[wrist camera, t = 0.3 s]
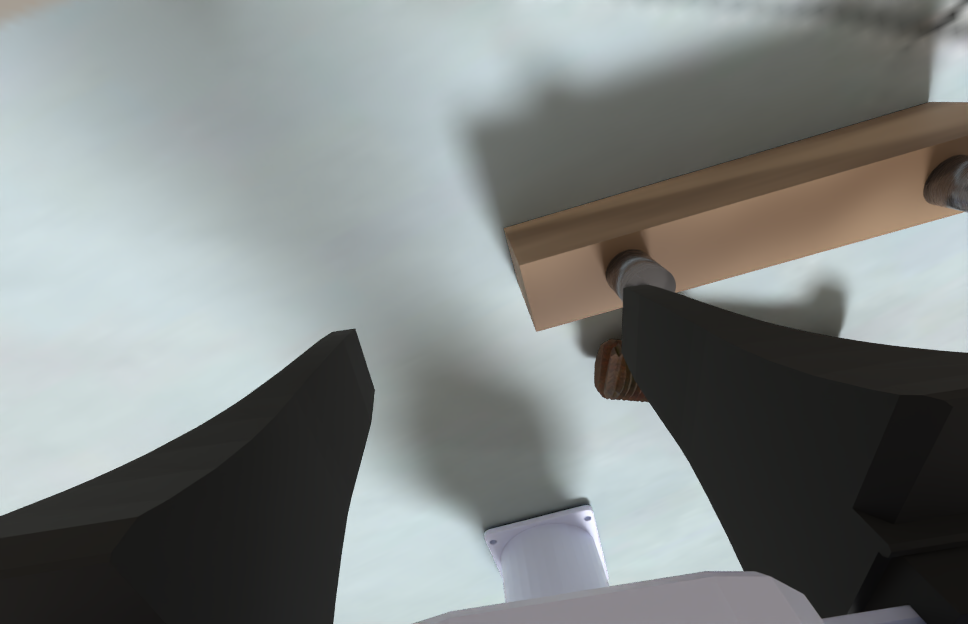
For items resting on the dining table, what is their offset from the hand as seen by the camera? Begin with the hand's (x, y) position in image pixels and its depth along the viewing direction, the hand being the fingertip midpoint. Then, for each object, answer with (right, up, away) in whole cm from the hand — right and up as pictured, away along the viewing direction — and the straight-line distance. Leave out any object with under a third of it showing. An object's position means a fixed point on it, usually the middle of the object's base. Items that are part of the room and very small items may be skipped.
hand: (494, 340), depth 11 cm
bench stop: (+11, +6, +9) cm, 15 cm away
